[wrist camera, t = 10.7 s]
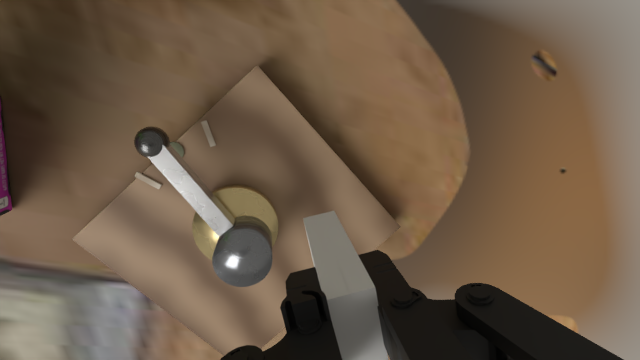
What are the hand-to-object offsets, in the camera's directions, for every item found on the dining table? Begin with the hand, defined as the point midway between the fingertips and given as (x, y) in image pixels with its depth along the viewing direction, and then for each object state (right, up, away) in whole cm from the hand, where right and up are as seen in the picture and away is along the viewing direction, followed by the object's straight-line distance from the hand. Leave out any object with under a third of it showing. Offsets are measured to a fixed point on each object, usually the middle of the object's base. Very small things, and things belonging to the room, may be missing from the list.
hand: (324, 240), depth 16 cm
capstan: (-11, +2, +17) cm, 20 cm away
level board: (-8, -2, +21) cm, 22 cm away
